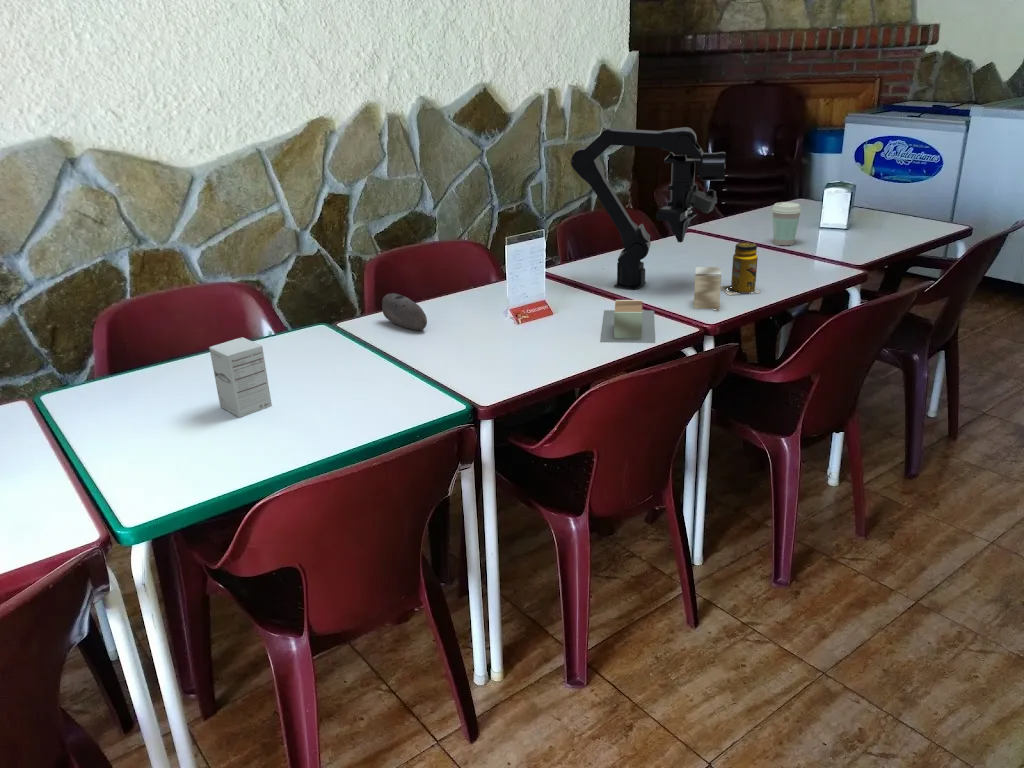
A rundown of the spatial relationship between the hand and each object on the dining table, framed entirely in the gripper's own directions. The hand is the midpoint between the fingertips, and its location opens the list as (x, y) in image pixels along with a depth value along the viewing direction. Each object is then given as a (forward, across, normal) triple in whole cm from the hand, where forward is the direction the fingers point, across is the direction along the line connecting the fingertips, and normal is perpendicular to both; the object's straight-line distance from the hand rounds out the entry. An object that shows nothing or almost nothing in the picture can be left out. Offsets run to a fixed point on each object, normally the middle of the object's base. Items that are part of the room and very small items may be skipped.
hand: (680, 242), depth 219 cm
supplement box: (+12, -107, +45) cm, 117 cm away
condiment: (+12, +4, -15) cm, 20 cm away
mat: (+12, -34, -1) cm, 36 cm away
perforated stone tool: (+12, -56, +46) cm, 74 cm away
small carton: (+9, -34, -1) cm, 35 cm away
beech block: (+12, -12, -12) cm, 21 cm away
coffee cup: (+12, +55, -12) cm, 58 cm away
